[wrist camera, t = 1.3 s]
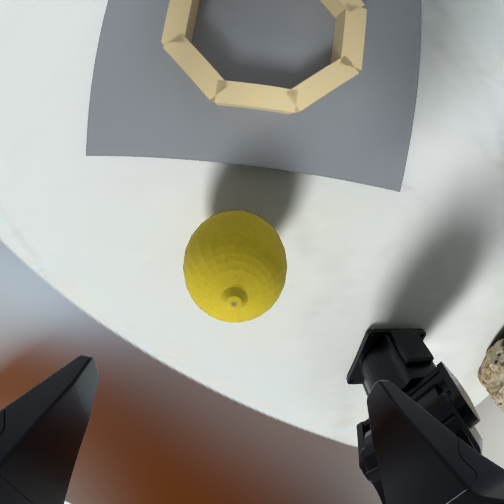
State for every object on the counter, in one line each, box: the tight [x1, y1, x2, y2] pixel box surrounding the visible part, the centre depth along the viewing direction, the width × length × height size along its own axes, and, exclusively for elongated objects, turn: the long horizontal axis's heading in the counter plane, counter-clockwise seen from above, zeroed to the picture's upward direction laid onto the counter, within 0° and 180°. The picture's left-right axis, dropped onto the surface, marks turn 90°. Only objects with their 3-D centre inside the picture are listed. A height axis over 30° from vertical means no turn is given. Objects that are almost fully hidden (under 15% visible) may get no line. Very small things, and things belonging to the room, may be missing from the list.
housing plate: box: [86, 0, 421, 192], centre depth 14 cm, size 15×20×4 cm
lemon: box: [183, 210, 287, 322], centre depth 16 cm, size 6×6×8 cm
